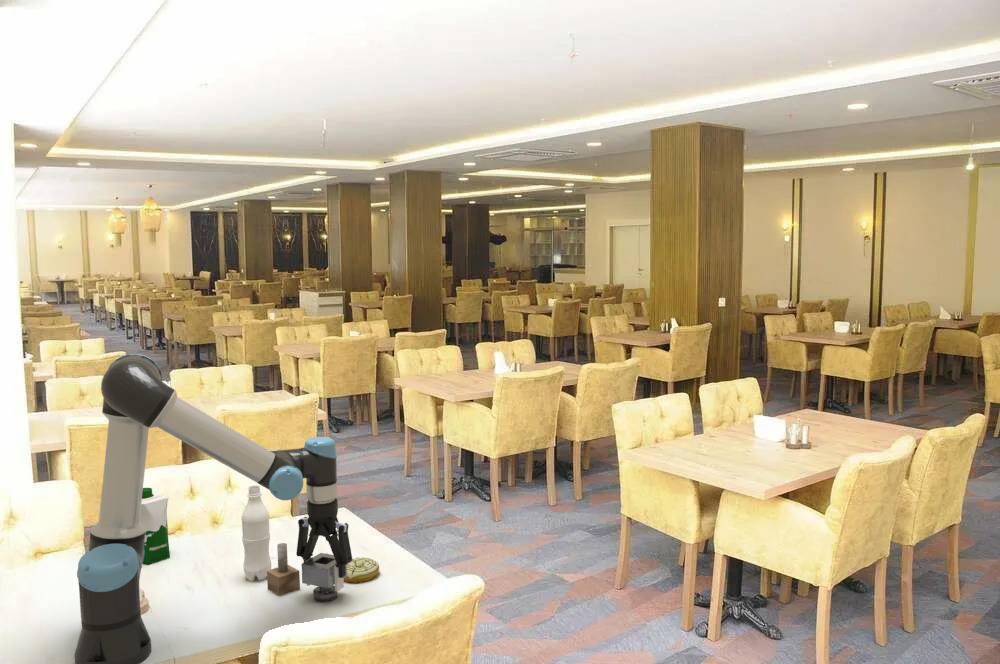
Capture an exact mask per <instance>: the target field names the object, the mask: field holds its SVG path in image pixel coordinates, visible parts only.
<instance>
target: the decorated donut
mask: <svg viewBox="0 0 1000 664" xmlns="http://www.w3.org/2000/svg"><path fill="white" fill-rule="evenodd" d="M379 571H380V564H379V562H378V561H377V560H375V559H372V558H369V557H355V558H352V561H351V562H349V563H348V564H347V577H345V578H344V583H345V582H346V583H357V584H358V583H361V582H366V581H370V580H372V579H374V578H375V577H376V576H377V574H378V573H379Z"/></svg>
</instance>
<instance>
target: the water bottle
mask: <svg viewBox="0 0 1000 664" xmlns="http://www.w3.org/2000/svg"><path fill="white" fill-rule="evenodd" d="M247 491H248V493H247V498H248V499H247V503H246V505H245V507H244V509H243V511H242V515H241V528H242V537H241V541H242V545H243V547H244V561H243V564H242V565H243V572H244V574H245V577H246V578H247V580H249V581H251V582H252V581H254V580H255V579H256V577H257V579H258V581H264V580H265V579H267V571H268V570H271V569H272V561H271V556H270V540H271V533H270V513H269V511H268V509H267V506H266V505H265V504H264V502H263V500H262V497H261V496H262V493H261V485H251V486H248V490H247Z"/></svg>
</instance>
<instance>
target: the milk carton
mask: <svg viewBox="0 0 1000 664" xmlns="http://www.w3.org/2000/svg"><path fill="white" fill-rule="evenodd" d="M168 502H169V497H168V496H165V495H163V494H161V493H157V492H153V488H151V487H143V491H142V501H141V511H140V521H139V522H140V523H141V524H142V525H143V526H144V527H145V541H144V560H143V563H142V564H144V565H146V566H149V565H152V564H155V563H157V562H160V561H163V560H166V559H169V558H171V555H170V544H169V531H168V530H169V528H168V526H169V525H168V512H167V510H168V504H169V503H168Z"/></svg>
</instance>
